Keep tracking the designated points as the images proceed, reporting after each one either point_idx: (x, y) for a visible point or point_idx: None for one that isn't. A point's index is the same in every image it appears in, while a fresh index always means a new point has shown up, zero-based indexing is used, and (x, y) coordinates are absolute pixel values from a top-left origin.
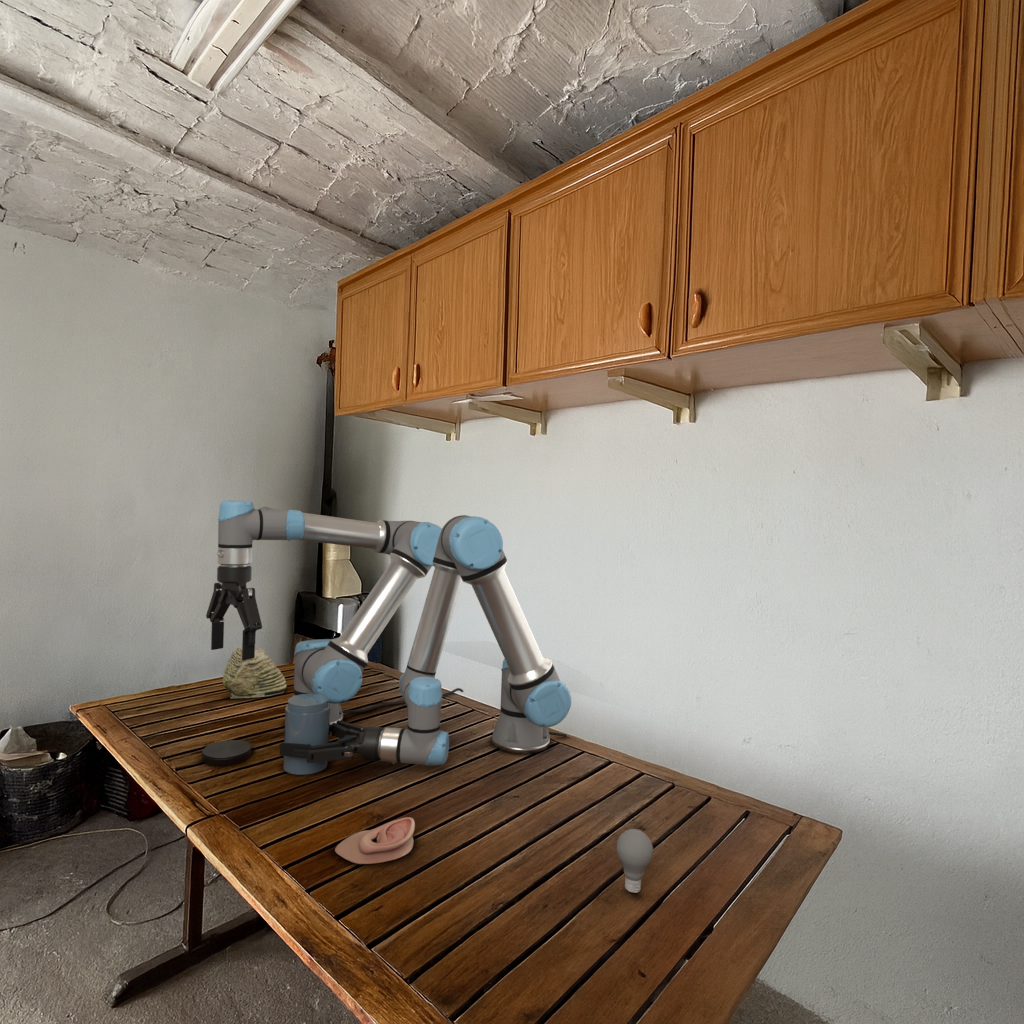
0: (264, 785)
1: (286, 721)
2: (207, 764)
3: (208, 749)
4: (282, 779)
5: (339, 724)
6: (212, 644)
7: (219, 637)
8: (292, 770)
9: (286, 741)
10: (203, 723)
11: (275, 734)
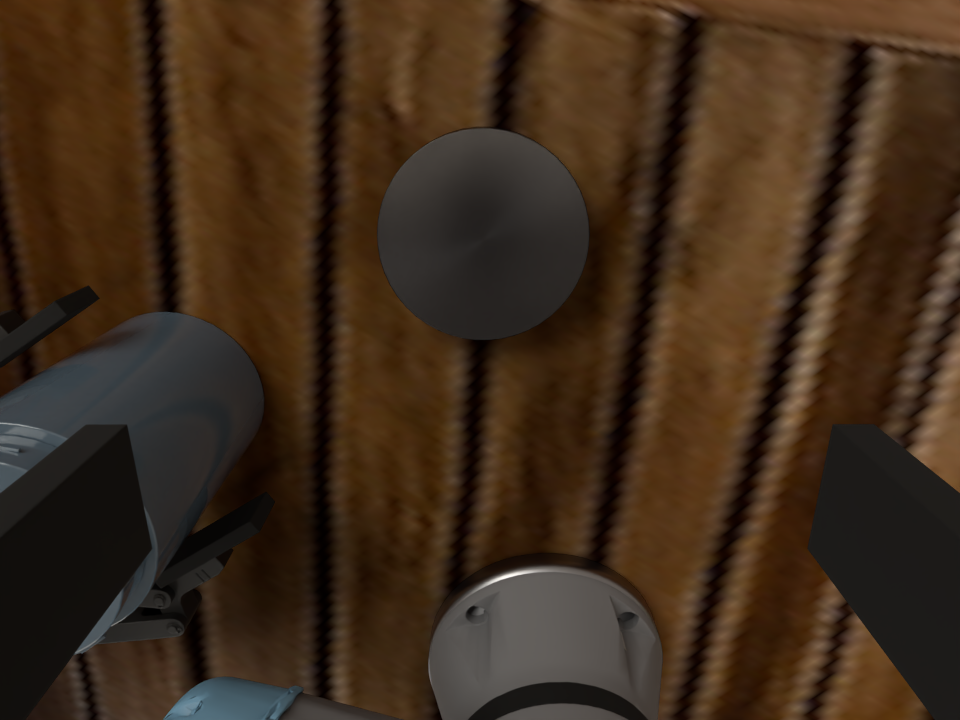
0: (104, 182)
1: (69, 398)
2: (465, 128)
3: (537, 174)
4: (114, 263)
5: (162, 614)
6: (882, 460)
7: (904, 603)
8: (129, 320)
9: (114, 356)
10: (922, 364)
11: (552, 490)
